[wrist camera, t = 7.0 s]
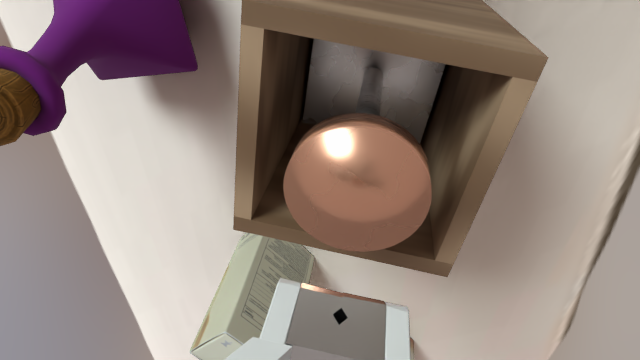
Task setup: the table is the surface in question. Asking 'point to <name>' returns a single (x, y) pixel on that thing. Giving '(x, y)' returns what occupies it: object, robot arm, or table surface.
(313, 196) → the table lamp
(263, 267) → the skincare box
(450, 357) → the table surface
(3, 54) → the perfume bottle
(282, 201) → the wooden box
